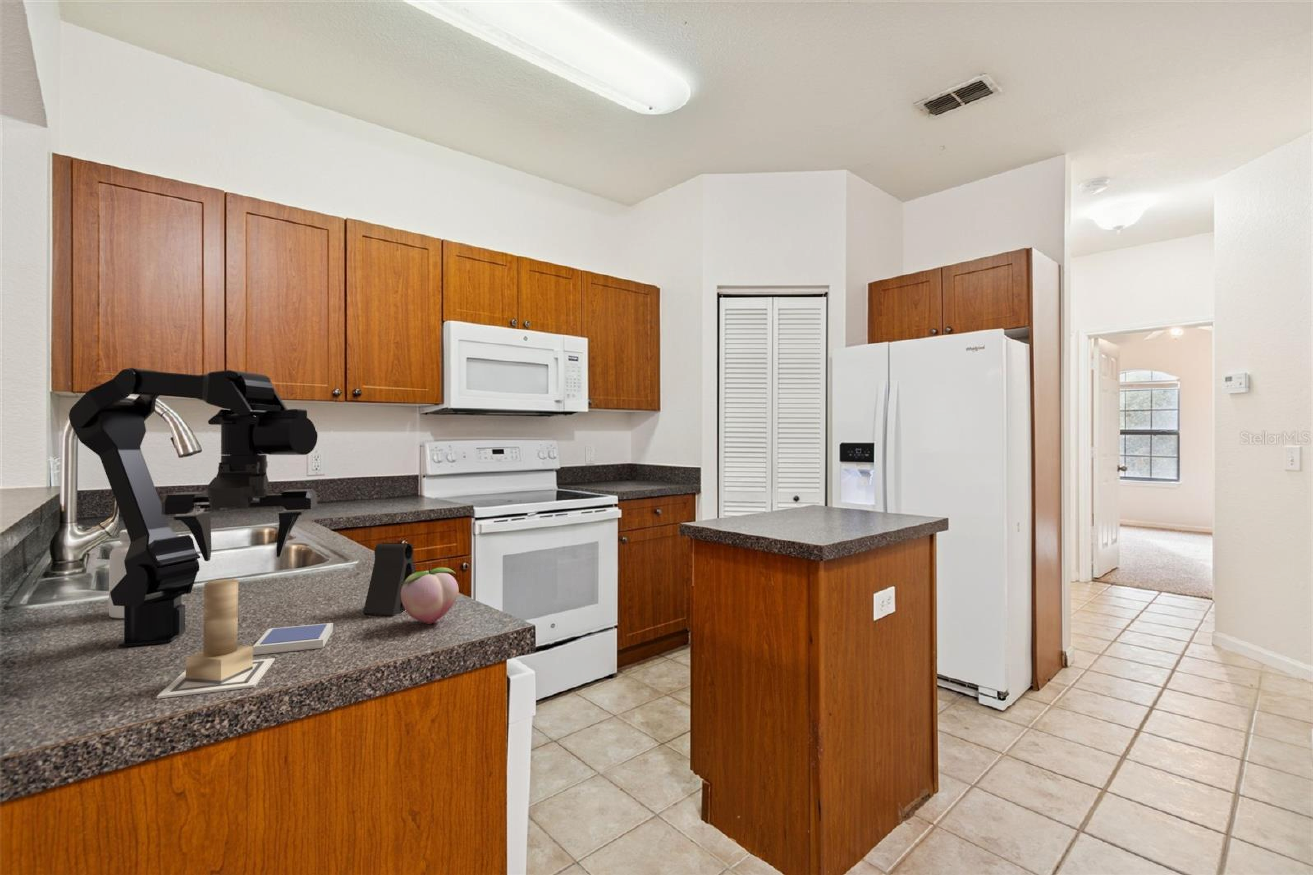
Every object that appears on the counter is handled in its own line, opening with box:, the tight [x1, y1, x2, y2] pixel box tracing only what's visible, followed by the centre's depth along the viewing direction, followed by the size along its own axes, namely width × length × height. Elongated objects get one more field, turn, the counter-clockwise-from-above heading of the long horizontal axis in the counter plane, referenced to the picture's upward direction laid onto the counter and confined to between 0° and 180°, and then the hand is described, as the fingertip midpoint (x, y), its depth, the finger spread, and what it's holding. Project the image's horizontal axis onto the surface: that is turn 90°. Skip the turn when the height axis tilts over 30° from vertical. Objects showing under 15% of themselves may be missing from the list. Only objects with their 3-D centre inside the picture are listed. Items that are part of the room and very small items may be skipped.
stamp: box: [185, 578, 254, 684], centre depth 79 cm, size 5×5×12 cm
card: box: [156, 657, 276, 700], centre depth 79 cm, size 10×10×1 cm
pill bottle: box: [108, 529, 131, 619], centre depth 109 cm, size 8×8×15 cm
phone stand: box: [362, 542, 417, 617], centre depth 112 cm, size 9×6×12 cm, turn 167°
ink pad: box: [252, 622, 334, 656], centre depth 93 cm, size 9×9×1 cm
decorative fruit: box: [401, 563, 460, 625], centre depth 103 cm, size 9×8×10 cm
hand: (243, 558), depth 92 cm, fingers open, 9 cm apart
